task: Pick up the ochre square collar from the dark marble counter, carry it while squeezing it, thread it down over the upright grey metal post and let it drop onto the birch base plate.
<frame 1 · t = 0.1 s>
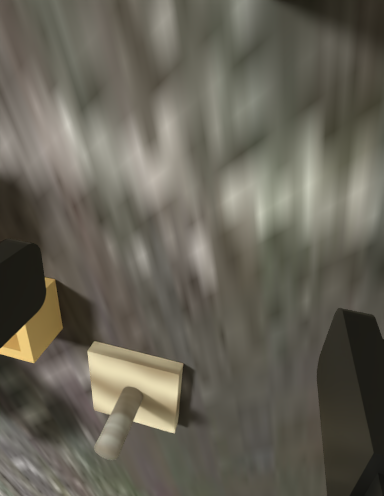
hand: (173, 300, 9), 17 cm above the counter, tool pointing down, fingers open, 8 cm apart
ring: (31, 298, 37), on the counter
post stand: (138, 382, 39), on the counter
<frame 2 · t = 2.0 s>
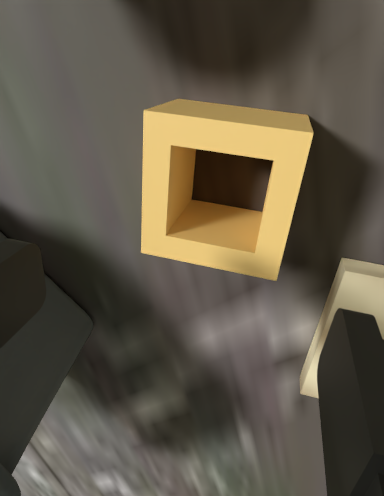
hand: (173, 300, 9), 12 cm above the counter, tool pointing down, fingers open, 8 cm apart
ring: (231, 170, 19), on the counter
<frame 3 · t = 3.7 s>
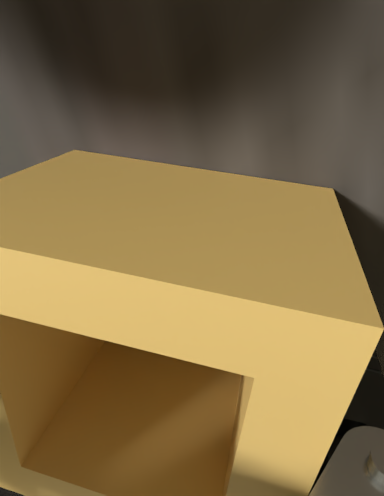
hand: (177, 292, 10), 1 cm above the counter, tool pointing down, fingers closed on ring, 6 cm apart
ring: (185, 278, 10), on the counter, touching gripper
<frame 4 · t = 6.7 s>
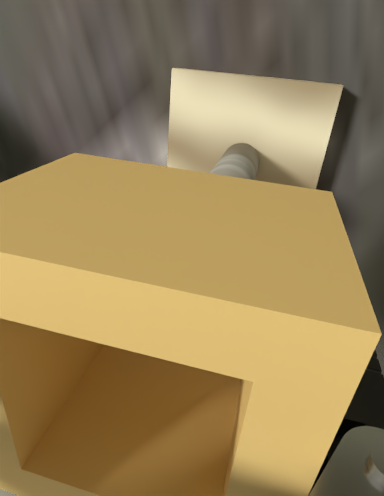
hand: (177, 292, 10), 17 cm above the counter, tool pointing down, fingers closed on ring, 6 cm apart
ring: (185, 280, 10), point 16 cm above the counter, touching gripper
post stand: (243, 156, 24), on the counter
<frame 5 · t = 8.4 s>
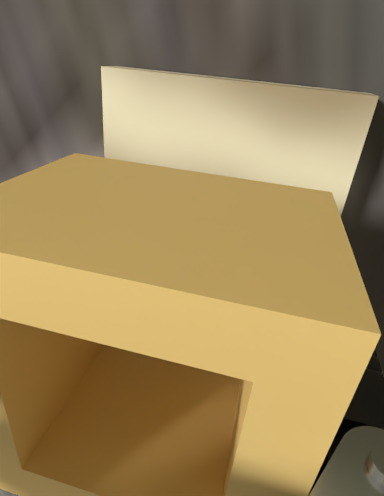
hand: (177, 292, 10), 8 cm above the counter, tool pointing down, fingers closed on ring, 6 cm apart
ring: (185, 280, 10), point 7 cm above the counter, touching gripper
post stand: (220, 198, 16), on the counter
when the fingers open (6 cm above the counter, at t = 9.7 s): ring drops 4 cm, resting on post stand.
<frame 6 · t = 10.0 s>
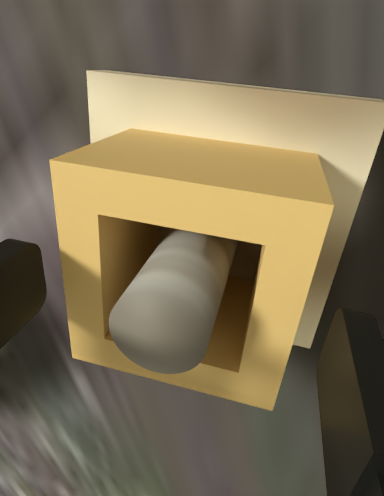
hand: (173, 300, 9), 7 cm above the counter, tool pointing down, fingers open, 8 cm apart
ring: (209, 225, 14), point 1 cm above the counter, touching post stand
post stand: (217, 211, 15), on the counter
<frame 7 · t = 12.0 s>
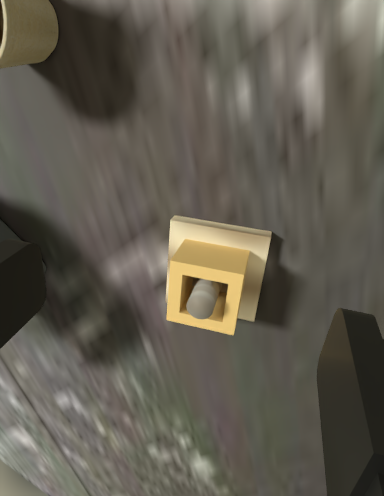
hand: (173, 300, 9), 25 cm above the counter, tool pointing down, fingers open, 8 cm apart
ring: (213, 272, 36), point 1 cm above the counter, touching post stand
post stand: (216, 266, 37), on the counter
flower pot: (30, 25, 32), on the counter
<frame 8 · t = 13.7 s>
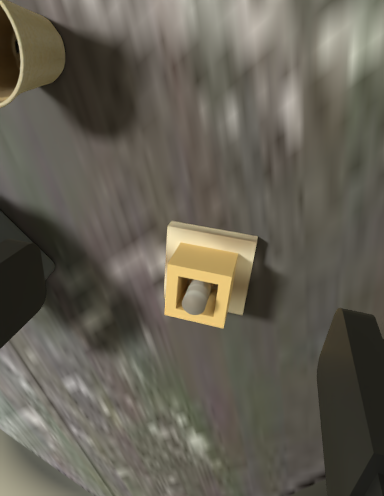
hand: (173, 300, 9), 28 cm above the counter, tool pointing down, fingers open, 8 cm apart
ring: (206, 272, 40), point 1 cm above the counter, touching post stand
post stand: (209, 265, 42), on the counter
flower pot: (39, 50, 35), on the counter
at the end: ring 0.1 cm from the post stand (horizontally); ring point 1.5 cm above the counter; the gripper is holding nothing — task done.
